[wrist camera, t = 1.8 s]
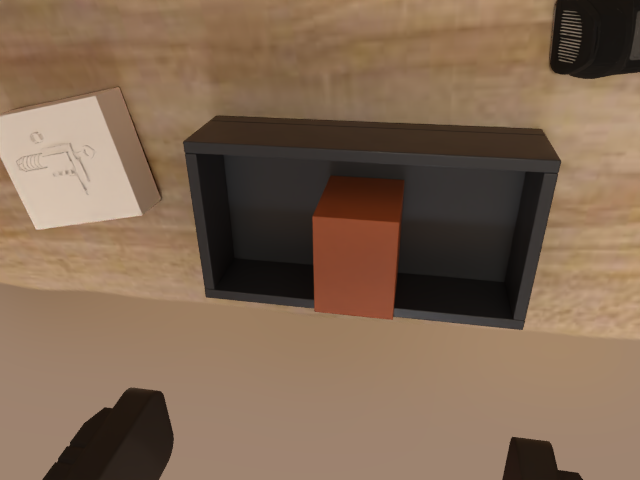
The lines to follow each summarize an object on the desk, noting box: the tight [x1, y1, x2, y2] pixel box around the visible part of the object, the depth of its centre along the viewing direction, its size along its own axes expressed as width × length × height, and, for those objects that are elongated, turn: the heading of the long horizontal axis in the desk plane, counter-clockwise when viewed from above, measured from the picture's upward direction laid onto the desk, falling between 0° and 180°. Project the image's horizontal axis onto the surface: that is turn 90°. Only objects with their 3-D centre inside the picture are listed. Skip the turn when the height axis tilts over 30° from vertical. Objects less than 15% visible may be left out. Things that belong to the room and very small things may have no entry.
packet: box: [312, 176, 404, 320], centre depth 27 cm, size 6×4×5 cm
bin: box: [183, 116, 561, 330], centre depth 28 cm, size 9×17×4 cm, turn 90°
